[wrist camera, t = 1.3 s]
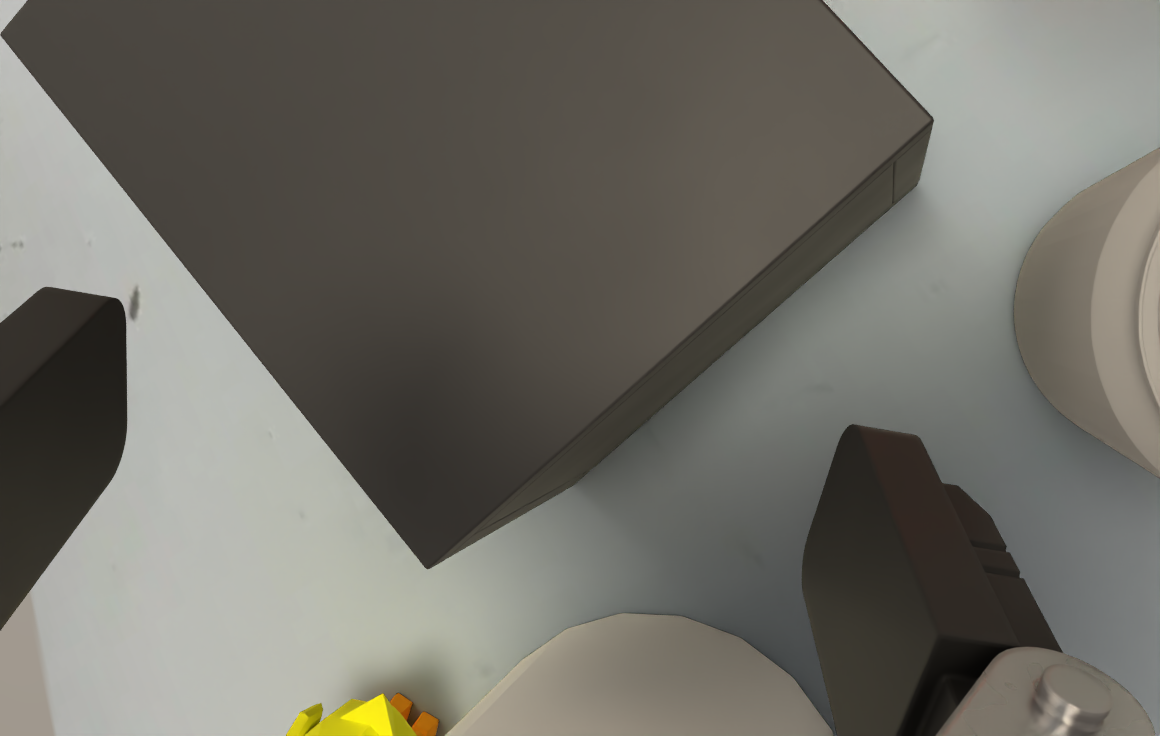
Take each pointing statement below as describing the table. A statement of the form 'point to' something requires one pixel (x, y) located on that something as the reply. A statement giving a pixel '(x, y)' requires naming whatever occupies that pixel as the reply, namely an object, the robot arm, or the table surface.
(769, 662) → the mug
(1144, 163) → the beverage can
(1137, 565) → the table surface
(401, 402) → the dark grey box
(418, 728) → the toy figure
